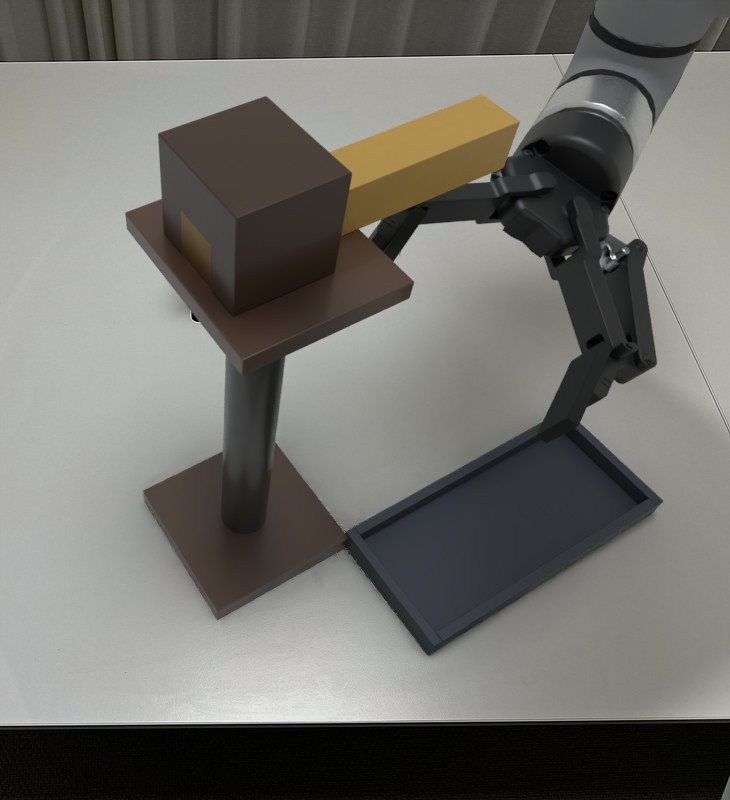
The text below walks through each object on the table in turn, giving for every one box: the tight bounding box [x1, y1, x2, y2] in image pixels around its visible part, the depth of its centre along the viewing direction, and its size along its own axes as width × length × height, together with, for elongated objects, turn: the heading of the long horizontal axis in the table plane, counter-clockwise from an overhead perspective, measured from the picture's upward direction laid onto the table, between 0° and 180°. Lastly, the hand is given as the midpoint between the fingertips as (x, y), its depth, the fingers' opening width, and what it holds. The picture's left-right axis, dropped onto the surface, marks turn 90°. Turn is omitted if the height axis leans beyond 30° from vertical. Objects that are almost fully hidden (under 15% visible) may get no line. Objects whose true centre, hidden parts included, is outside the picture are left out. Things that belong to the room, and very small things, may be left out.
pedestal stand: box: [124, 198, 415, 620], centre depth 53 cm, size 12×12×30 cm
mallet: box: [157, 93, 521, 316], centre depth 40 cm, size 19×7×6 cm, turn 120°
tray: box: [344, 421, 664, 657], centre depth 63 cm, size 24×11×2 cm, turn 120°
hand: (459, 360), depth 45 cm, fingers open, 13 cm apart
